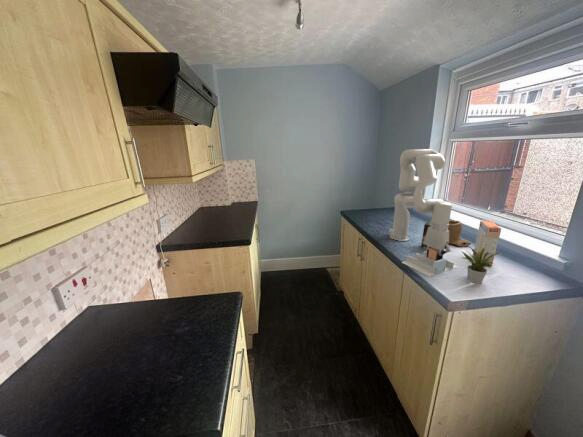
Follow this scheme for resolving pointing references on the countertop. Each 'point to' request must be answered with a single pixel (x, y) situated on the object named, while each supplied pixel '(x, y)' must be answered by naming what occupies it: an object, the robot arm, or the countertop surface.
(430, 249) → the peach cardboard carton
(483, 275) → the house plant
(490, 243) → the cracker box
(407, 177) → the robot arm
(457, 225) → the tan piece
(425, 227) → the coffee box
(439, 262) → the wall shelf
